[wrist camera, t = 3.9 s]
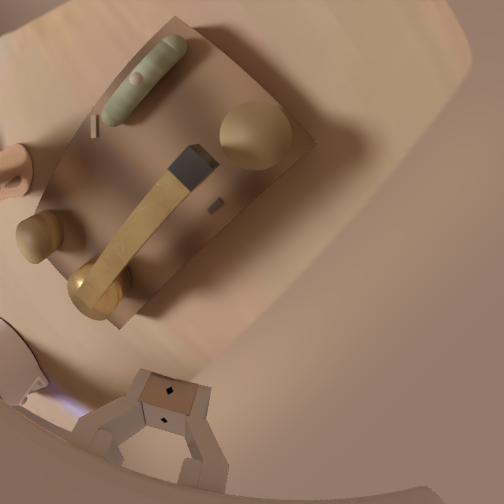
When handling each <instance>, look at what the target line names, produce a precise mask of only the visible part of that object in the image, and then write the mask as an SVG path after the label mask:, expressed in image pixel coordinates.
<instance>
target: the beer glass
mask: <svg viewBox="0 0 504 504" xmlns="http://www.w3.org/2000/svg"><path fill="white" fill-rule="evenodd" d="M32 176H33V166H32V160H31V157H30V154H29V152H28V150H27V149H26V148H25V147H24V146H23V145H21V144H14V145H12V146H10V147H7V148H5V149H3V150H1V151H0V201H2V200H5V199H10V198H17V197H21V196H23V195H25V194H26V193H27V191H28V190H29V188H30V185H31V182H32Z"/></svg>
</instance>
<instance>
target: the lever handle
mask: <svg viewBox="0 0 504 504" xmlns="http://www.w3.org/2000/svg"><path fill="white" fill-rule="evenodd" d="M219 165H220V164H219V163H218V162H217V161H216V160H215V159H214V158H213V157H212V156H211V155H210V154H209V153H208V152H207V151H206V150H205V149H204V148H203V147H202V146H201V145H200V144H194V145H188V146H187V148H186V149H185V150H184V151H183V152H182V153H181V154H180V155H179V156H178V157H177V158H176V159H175V161H174V162H173V163H172V164H171V165H170V166H169V167H168V168H167V169H168V170H167V171H166V172H165V174H164V175H163V176H162V177H161V178H160V179H159V180H158V182H157V183H156V184H155V185H154V186H153V188H152V189H151V190H150V191H149V192H148V194H147V195H146V196H145V197H144V198H143V200H142V201H141V202H140V203H139V205H138V206H137V207H136V208H135V210H134V211H133V212H132V213H131V215H130V216H129V217H128V219H127V220H126V221H125V223H124V224H123V225H122V226H121V228H120V229H119V230H118V232H117V233H116V235H115V236H114V237H113V239H112V240H111V241H110V243H109V244H108V246H107V247H106V248H105V250H104V251H103V252H99V253H97V254H95V255H94V256H93V257H92V258H91V259H89V260H88V261H87V262H86V263H85V264H83V265H82V266H81V267H80V268H79V269H78V270H76V271H75V272H74V273H73V274H72V275H71V276H70V277H69V280H68V293H69V296H70V298H71V300H72V302H73V304H74V305H75V306H76V308H77V309H78V310H79V311H80V312H81V313H83V314H84V315H85V316H87V317H89V318H91V319H94V320H105V319H107V318H108V317H109V316H110V315H111V314H112V313H113V311H114V310H115V309H116V307H117V306H118V305H119V303H120V302H121V301H122V300H123V298H124V297H125V296H126V294H127V293H128V292H129V290H130V288H131V284H132V279H131V274H130V271H129V269H128V267H127V265H128V264H129V263H130V261H131V260H132V259H133V258H134V256H135V255H136V254H137V253H138V252H139V251H140V249H141V248H142V247H143V246H144V245H145V243H146V242H147V241H148V240H149V239H150V238H151V237H152V235H153V234H154V233H155V232H156V231H157V230H158V229H159V227H160V226H161V225H162V224H163V223H164V222H165V221H166V220H167V218H168V217H169V216H170V215H171V214H172V213H173V212H174V211H175V210H176V209H177V208H178V206H179V205H180V204H181V203H182V202H183V201H184V200H185V199H186V198H187V197H188V196H189V195H190V194H191V193H192V192H193V191H194V190H195V188H197V187H198V186H199V185H201V184H202V183H203V182H204V181H205V180H206V178H207V177H208V176H209V175H210V174H211V173H212V172H213V171H214V170H215V169H216V168H217V167H218V166H219Z"/></svg>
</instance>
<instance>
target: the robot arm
mask: <svg viewBox="0 0 504 504" xmlns="http://www.w3.org/2000/svg"><path fill="white" fill-rule="evenodd" d="M48 384H49V382H48V380H47V379H46V377H45V376H44V375H43V373H42V372H41V370H40V368H39V366H38V363H37V361H36V359H35V358H34V356H33V354H32V353H31V351H30V350H29V348H28V347H27V345H26V344H25V343H24V342H23V340H22V339H21V338H20V337H19V335H18V334H17V333H16V332H15V331H14V330H13V329H12V328H11V327H10V326H9V325H8V324H7V323H5V322H4V321H3V320H2V319H0V504H447V503H446V501H445V500H444V499H443V498H441V497H440V496H439V495H438V494H437V493H436V492H434V491H433V490H432V489H431V488H429V487H427V486H418V487H414V488H410V489H406V490H401V491H396V492H390V493H385V494H378V495H372V496H364V497H355V498H345V499H331V500H278V499H263V498H252V497H243V496H236V495H228V494H225V488H226V481H227V475H228V469H229V464H228V462H227V461H226V459H225V457H224V455H223V453H222V451H221V449H220V447H219V445H218V443H217V441H216V439H215V437H214V435H213V432H212V430H211V428H210V426H209V424H208V422H207V420H206V416H207V411H208V405H209V399H210V393H211V387H208V386H203V385H199V384H195V383H191V382H187V381H183V380H179V379H173V378H170V377H167V376H163V375H160V374H157V373H154V372H151V371H148V370H144V369H140V370H139V371H138V372H137V374H136V376H135V378H134V380H133V382H132V384H131V386H130V388H129V390H128V392H127V394H126V396H125V397H124V396H121V397H119V398H117V399H115V400H113V401H112V402H110V403H108V404H106V405H104V406H102V407H100V408H98V409H96V410H94V411H92V412H90V413H88V414H86V415H84V416H82V417H80V418H79V420H78V422H77V423H76V425H75V427H74V429H73V431H72V433H71V434H70V436H69V438H68V440H67V441H65V440H64V439H62V438H60V437H58V436H56V435H55V434H53V433H51V432H49V431H48V430H46V429H44V428H43V427H41V426H40V425H38V424H36V423H35V422H33V421H32V420H30V419H29V418H27V417H26V416H24V415H23V414H21V413H20V412H18V411H17V410H15V409H14V408H13V407H11V406H12V405H14V406H16V405H20V404H21V405H24V404H25V402H26V401H27V399H28V398H27V397H26V396H27V394H30V393H31V392H34V391H36V390H39V389H41V388H44V387H46V386H47V385H48ZM146 425H148V426H151V427H155V428H158V429H162V430H165V431H169V432H172V433H175V434H179V435H183V436H185V439H186V442H187V444H188V447H189V450H190V453H191V455H192V458H193V459H192V458H186V459H184V461H183V465H182V469H181V472H180V475H179V479H178V483H177V484H175V483H171V482H168V481H164V480H161V479H157V478H154V477H151V476H148V475H145V474H142V473H139V472H136V471H133V470H130V469H127V468H125V467H122V463H123V461H124V458H123V456H122V454H121V452H120V450H119V448H118V446H119V445H120V444H122V443H123V442H124V441H126V440H127V439H129V438H130V437H132V436H133V435H134V434H136V433H137V432H138V431H140V430H141V429H142V428H144V427H145V426H146Z"/></svg>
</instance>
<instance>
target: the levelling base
mask: <svg viewBox="0 0 504 504" xmlns="http://www.w3.org/2000/svg"><path fill="white" fill-rule="evenodd" d="M194 144H200V145H201V146H202V147H203V148H204V149H205V150H206V151H207V152H208V153H209V154H210V155H211V156H212V157H213V158H214V159H215V160H216V161H217V162H218V163H219V164H220V165H219V166H218V167H217V168H216V169H215V170H214V171H213V172H212V173H211V174H210V175H209V176H208V177H207V178H206V180H205V181H204V182H203V183H202V184H201V185H199V186H198V187H197V188H195V190H194V191H193V192H192V193H191V194H190V195H189V196H188V197H187V198H186V199H185V200H184V201H183V202H182V203H181V204H180V205H179V206H178V208H177V209H176V210H175V211H174V212H173V213H172V214H171V215H170V216H169V217H168V218H167V220H166V221H165V222H164V223H163V224H162V225H161V226H160V227H159V229H158V230H157V231H156V232H155V233H154V234H153V235H152V237H151V238H150V239H149V240H148V241H147V242H146V243H145V245H144V246H143V247H142V248H141V249H140V251H139V252H138V253H137V254H136V255H135V256H134V258H133V259H132V260H131V261H130V263H129V264H128V265H127V267H128V269H129V271H130V274H131V279H132V284H131V288H130V290H129V292H128V293H127V294H126V296H125V297H124V298H123V300H122V301H121V302H120V303H119V305H118V306H117V307H116V309H115V310H114V311H113V313H112V314H111V315H110V316H109V317H108V318H107V319H108V320H109V321H110V322H111V323H112V324H113V325H114V326H116V327H117V328H118V329H119V330H120V329H121V328H122V327H123V326H124V325H125V324H126V323H127V322H128V321H129V320H130V319H131V318H132V317H133V316H134V315H135V314H136V312H137V311H138V310H139V309H140V308H141V307H142V306H143V305H144V304H145V303H146V302H147V301H148V300H149V299H150V298H151V297H152V296H153V295H154V294H155V293H156V292H157V291H158V290H159V289H160V288H161V287H162V286H163V285H164V284H165V283H166V282H167V281H168V280H169V279H170V278H171V277H172V276H173V275H174V274H175V273H177V272H178V271H179V270H180V269H181V268H182V267H183V266H184V265H185V264H186V263H187V262H188V261H189V260H190V259H191V258H192V257H193V256H194V255H195V254H196V253H197V252H198V251H199V250H200V249H201V248H202V247H203V246H204V245H206V244H207V243H208V242H209V241H210V240H211V239H212V238H213V237H214V236H215V235H216V234H217V233H218V232H219V231H220V230H221V229H222V228H224V227H225V226H226V225H227V224H228V223H229V222H230V221H231V220H232V219H233V218H234V217H235V216H236V215H238V214H239V213H240V212H241V211H242V210H243V209H244V208H245V207H246V206H247V205H248V204H249V203H251V202H252V201H253V200H254V199H255V198H256V197H257V196H258V195H259V194H260V193H262V192H263V191H264V190H265V189H266V188H267V187H268V186H269V185H270V184H272V183H273V182H274V181H275V180H276V179H277V178H278V177H279V176H281V175H282V174H283V173H284V172H285V171H286V170H287V169H288V168H290V167H291V166H292V165H293V164H294V163H295V162H296V161H298V160H299V159H300V158H301V157H302V156H303V155H305V154H306V153H307V152H308V151H309V150H310V149H311V148H313V147H314V146H315V145H316V144H317V143H316V142H315V141H314V140H313V139H312V138H311V137H310V136H309V135H308V133H307V132H306V131H305V130H304V129H303V128H302V127H301V126H300V125H299V124H298V123H297V122H296V121H295V120H294V118H293V117H292V116H291V115H290V114H289V113H288V112H287V111H286V110H285V109H284V108H283V107H282V106H281V105H280V104H279V103H278V102H277V101H276V100H275V99H274V98H273V97H272V96H271V95H270V94H269V93H268V92H267V91H266V90H265V89H264V88H262V87H261V86H260V85H259V84H258V83H257V82H256V81H255V80H254V79H253V78H252V77H251V76H250V75H248V74H247V73H246V72H245V71H244V70H243V69H242V68H241V67H239V66H238V65H237V64H236V63H235V62H234V61H233V60H231V59H230V58H229V57H228V56H227V55H226V54H224V53H223V52H222V51H221V50H220V49H218V48H217V47H216V46H215V45H213V44H212V43H211V42H210V41H208V40H207V39H206V38H205V37H203V36H202V35H201V34H199V33H198V32H197V31H195V30H194V29H193V28H192V27H190V26H189V25H187V24H186V23H185V22H183V21H182V20H181V19H179V18H178V17H176V16H174V17H173V18H172V19H171V20H170V21H169V22H168V23H166V24H165V25H164V26H163V27H162V28H161V29H160V30H159V31H158V32H157V33H156V34H155V35H154V36H153V37H152V38H151V39H150V40H149V41H148V42H147V43H146V44H145V45H144V46H143V47H142V48H141V50H140V51H139V52H138V53H137V54H136V55H135V56H134V57H133V58H132V59H131V61H130V62H129V63H128V64H127V65H126V66H125V67H124V69H123V70H122V71H121V72H120V73H119V75H118V76H117V77H116V78H115V80H114V81H113V82H112V83H111V85H110V86H109V87H108V88H107V90H106V91H105V92H104V94H103V95H102V96H101V98H100V99H99V100H98V102H97V103H96V105H95V106H94V107H93V109H92V110H91V112H90V113H89V115H88V116H87V118H86V119H85V120H84V122H83V124H82V125H81V127H80V128H79V130H78V131H77V133H76V134H75V136H74V138H73V139H72V141H71V143H70V144H69V146H68V148H67V149H66V151H65V153H64V155H63V156H62V158H61V160H60V162H59V164H58V165H57V167H56V169H55V171H54V173H53V175H52V177H51V179H50V181H49V183H48V185H47V187H46V189H45V191H44V193H43V195H42V198H41V200H40V202H39V204H38V206H37V209H36V211H35V213H34V215H33V216H31V217H29V218H27V219H25V220H23V221H21V222H20V223H19V224H18V226H17V229H16V240H17V244H18V247H19V250H20V252H21V253H22V255H23V256H24V257H25V259H26V260H28V261H29V262H30V263H33V264H38V263H40V262H41V261H43V260H44V259H45V258H47V259H48V260H49V261H50V262H51V263H52V265H53V266H54V267H55V268H56V269H57V270H58V271H59V272H60V273H61V274H62V275H63V276H64V278H65V279H66V280H67V281H68V280H69V277H70V276H71V275H72V274H73V273H74V272H75V271H76V270H78V269H79V268H80V267H81V266H82V265H83V264H85V263H86V262H87V261H88V260H89V259H91V258H92V257H93V256H94V255H95V254H97V253H99V252H103V251H104V250H105V248H106V247H107V246H108V244H109V243H110V241H111V240H112V239H113V237H114V236H115V235H116V233H117V232H118V230H119V229H120V228H121V226H122V225H123V224H124V223H125V221H126V220H127V219H128V217H129V216H130V215H131V213H132V212H133V211H134V210H135V208H136V207H137V206H138V205H139V203H140V202H141V201H142V200H143V198H144V197H145V196H146V195H147V194H148V192H149V191H150V190H151V189H152V188H153V186H154V185H155V184H156V183H157V182H158V180H159V179H160V178H161V177H162V176H163V175H164V174H165V172H166V171H167V170H168V169H167V168H168V167H169V166H170V165H171V164H172V163H173V162H174V161H175V159H176V158H177V157H178V156H179V155H180V154H181V153H182V152H183V151H184V150H185V149H186V148H187V146H188V145H194Z"/></svg>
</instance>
